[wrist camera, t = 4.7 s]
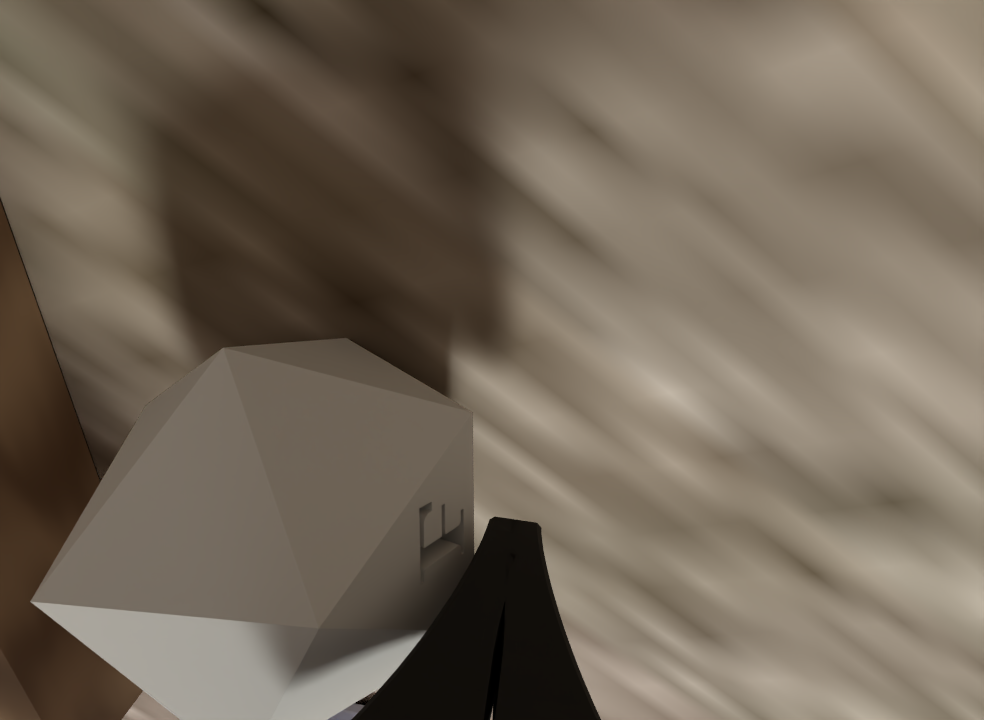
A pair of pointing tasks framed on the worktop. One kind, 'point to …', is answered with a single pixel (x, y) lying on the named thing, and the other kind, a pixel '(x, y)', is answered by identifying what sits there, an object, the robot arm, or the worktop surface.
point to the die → (272, 533)
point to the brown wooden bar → (41, 519)
